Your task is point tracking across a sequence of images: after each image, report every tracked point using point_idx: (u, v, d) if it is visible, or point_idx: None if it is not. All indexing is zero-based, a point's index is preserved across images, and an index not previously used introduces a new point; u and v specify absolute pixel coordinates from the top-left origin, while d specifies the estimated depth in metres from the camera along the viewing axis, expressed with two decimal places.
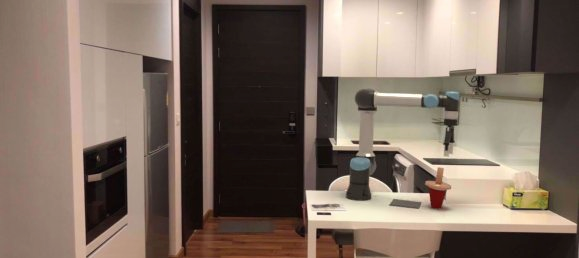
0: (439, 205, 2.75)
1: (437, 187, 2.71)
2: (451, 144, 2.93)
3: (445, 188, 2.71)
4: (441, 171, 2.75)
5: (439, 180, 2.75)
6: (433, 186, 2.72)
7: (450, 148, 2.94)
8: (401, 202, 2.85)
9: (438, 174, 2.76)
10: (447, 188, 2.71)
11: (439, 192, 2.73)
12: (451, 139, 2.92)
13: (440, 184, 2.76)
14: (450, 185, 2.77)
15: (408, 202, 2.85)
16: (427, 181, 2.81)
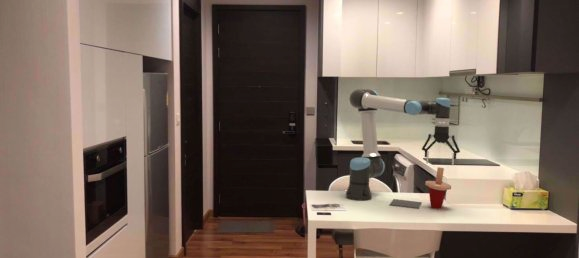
0: (439, 205, 2.75)
1: (437, 187, 2.71)
2: None
3: (445, 188, 2.71)
4: (441, 171, 2.75)
5: (439, 180, 2.75)
6: (433, 186, 2.72)
7: (452, 159, 2.74)
8: (401, 202, 2.85)
9: (438, 174, 2.76)
10: (447, 188, 2.71)
11: (439, 192, 2.73)
12: None
13: (440, 184, 2.76)
14: (450, 185, 2.77)
15: (408, 202, 2.85)
16: (427, 181, 2.81)
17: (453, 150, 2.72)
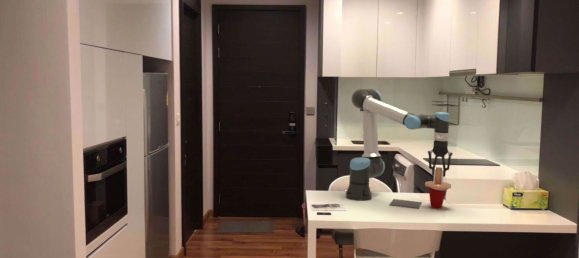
0: (439, 205, 2.75)
1: (437, 187, 2.71)
2: None
3: (445, 187, 2.71)
4: (440, 171, 2.75)
5: (438, 180, 2.76)
6: (433, 186, 2.72)
7: None
8: (401, 202, 2.85)
9: (437, 174, 2.76)
10: (447, 187, 2.71)
11: (439, 191, 2.73)
12: None
13: (440, 184, 2.76)
14: (450, 184, 2.76)
15: (408, 202, 2.85)
16: (427, 182, 2.81)
17: (444, 167, 2.74)
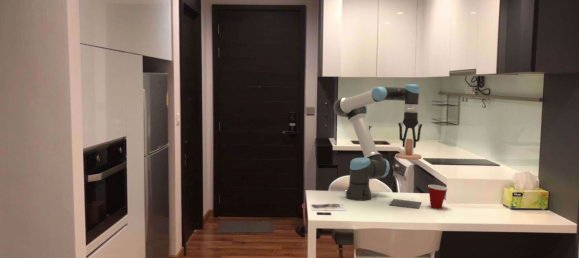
0: (439, 205, 2.75)
1: (407, 158, 2.74)
2: (412, 143, 2.79)
3: (415, 158, 2.74)
4: (410, 142, 2.79)
5: (409, 151, 2.79)
6: (403, 157, 2.75)
7: (412, 147, 2.80)
8: (401, 202, 2.85)
9: (407, 145, 2.79)
10: (417, 158, 2.75)
11: (439, 192, 2.73)
12: (413, 136, 2.79)
13: (410, 155, 2.79)
14: (420, 155, 2.80)
15: (408, 202, 2.85)
16: (398, 153, 2.84)
17: (414, 138, 2.78)
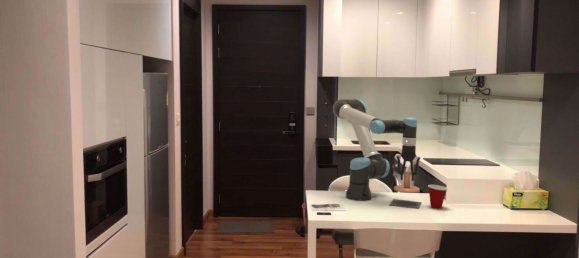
0: (439, 205, 2.75)
1: (405, 191, 2.76)
2: (410, 176, 2.81)
3: (413, 191, 2.76)
4: (408, 175, 2.80)
5: (407, 184, 2.81)
6: (401, 190, 2.77)
7: (410, 180, 2.82)
8: (401, 202, 2.85)
9: (405, 178, 2.81)
10: (415, 191, 2.76)
11: (439, 192, 2.73)
12: (411, 169, 2.81)
13: (408, 188, 2.81)
14: (418, 188, 2.82)
15: (408, 202, 2.85)
16: (396, 186, 2.86)
17: (412, 171, 2.80)
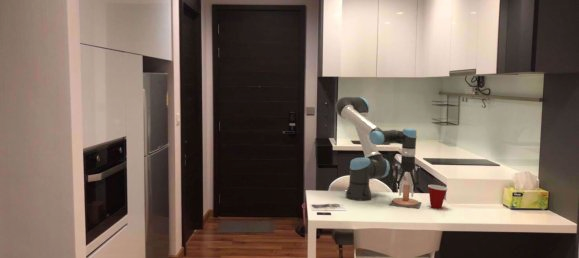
0: (439, 205, 2.75)
1: (404, 204, 2.77)
2: (412, 186, 2.81)
3: (412, 205, 2.77)
4: (407, 188, 2.81)
5: (406, 197, 2.82)
6: (400, 204, 2.78)
7: None
8: None
9: (404, 191, 2.82)
10: (414, 204, 2.77)
11: (439, 192, 2.73)
12: (412, 180, 2.81)
13: (407, 201, 2.82)
14: (417, 201, 2.82)
15: None
16: (395, 199, 2.87)
17: (413, 182, 2.80)
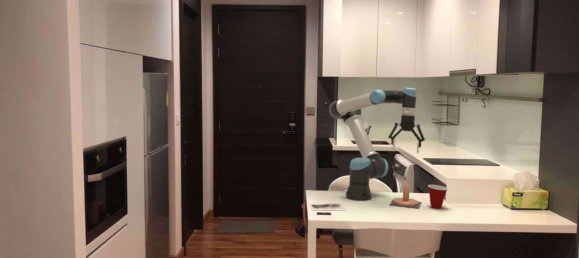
0: (439, 205, 2.75)
1: (404, 204, 2.77)
2: None
3: (412, 205, 2.77)
4: (407, 188, 2.81)
5: (406, 197, 2.82)
6: (400, 204, 2.78)
7: (417, 147, 2.82)
8: None
9: (404, 191, 2.82)
10: (414, 204, 2.77)
11: (439, 191, 2.73)
12: (416, 137, 2.81)
13: (407, 201, 2.82)
14: (417, 201, 2.82)
15: None
16: (395, 199, 2.87)
17: (418, 138, 2.80)
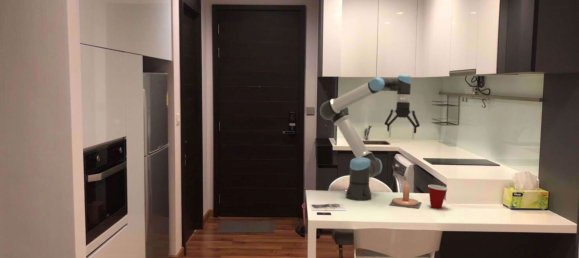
0: (439, 205, 2.75)
1: (404, 204, 2.77)
2: None
3: (412, 205, 2.77)
4: (407, 188, 2.81)
5: (406, 197, 2.82)
6: (400, 204, 2.78)
7: None
8: None
9: (404, 191, 2.82)
10: (414, 204, 2.77)
11: (439, 192, 2.73)
12: (411, 123, 2.89)
13: (407, 201, 2.82)
14: (417, 201, 2.82)
15: None
16: (395, 199, 2.87)
17: (413, 124, 2.88)
